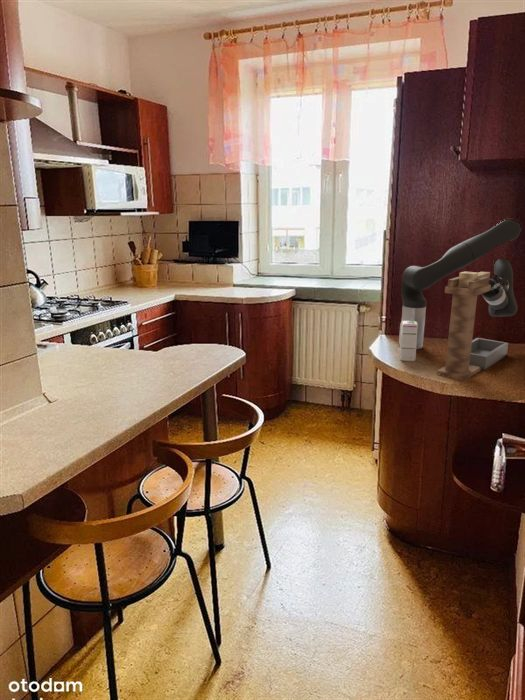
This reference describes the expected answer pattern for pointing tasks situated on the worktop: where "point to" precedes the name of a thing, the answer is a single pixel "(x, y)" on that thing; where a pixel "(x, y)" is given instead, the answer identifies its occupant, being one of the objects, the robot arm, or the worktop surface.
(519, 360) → the worktop surface
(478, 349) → the tray
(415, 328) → the syrup box
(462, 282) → the peg
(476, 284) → the stand
